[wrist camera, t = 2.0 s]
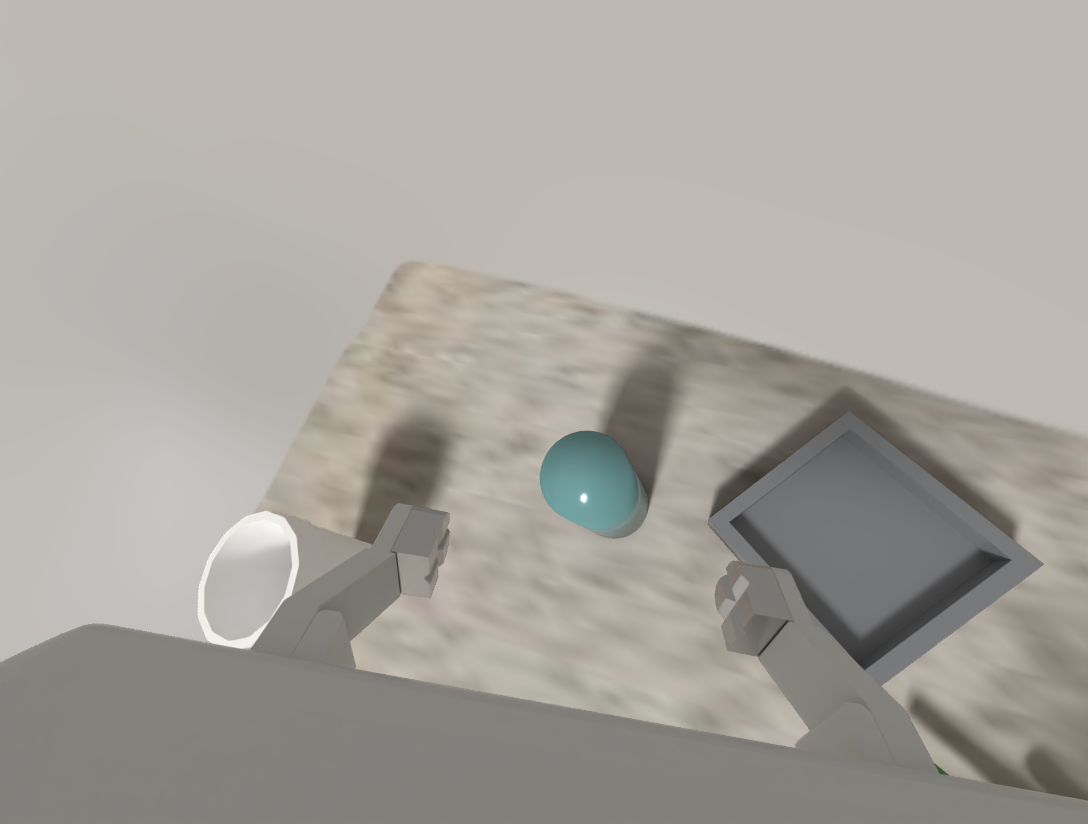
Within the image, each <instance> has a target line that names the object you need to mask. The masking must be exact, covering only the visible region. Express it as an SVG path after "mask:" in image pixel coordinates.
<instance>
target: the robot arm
mask: <svg viewBox="0 0 1088 824" xmlns="http://www.w3.org/2000/svg"><path fill="white" fill-rule="evenodd" d="M449 521H450V515H449V513H448V512H443V511H438V510H433V509H428V508H423V507H418V506H412V505H407V504H402V503H397V504H396V505H395V506H394V507H393V509H392V511H391V512H390V514H389V516H388V518H387V520H386V521H385V523H384V525H383V527H382V529H381V531H380V532H379V534H378V536H377V538H376V540H375V541H374V543H373V545H372V547H371V548H364V549H363V550H361V551H360V552H358V553H357V554H355V555H353V556H352V557H350V558H349V559H347V560H346V561H344V562H343V563H341V564H339V565H338V566H336V567H335V568H333V569H332V570H330V571H329V572H327V573H325V574H324V575H322V576H321V577H319V578H318V579H316V580H315V581H313V582H311V583H310V584H308V585H307V586H305V587H304V588H302V589H301V590H299V591H297V592H296V593H294V594H293V595H291V596H290V597H288V598H287V599H285V600H284V601H283V602H282V604H281V605H280V607H279V608H278V609H277V611H276V612H275V614H274V615H273V617H272V618H271V620H270V621H269V623H268V624H267V626H266V627H265V629H264V630H263V632H262V633H261V635H260V636H259V638H258V639H257V640H256V642H255V643H254V645H253V646H252V648H251V649H250V650H246V649H240V648H235V647H229V646H224V645H218V644H213V643H207V642H201V641H196V640H190V639H185V638H179V637H173V636H167V635H163V634H156V633H152V632H146V631H141V630H135V629H129V628H124V627H119V626H114V625H107V624H88V625H84V626H81V627H78V628H76V629H73V630H70V631H68V632H65V633H63V634H60V635H58V636H56V637H54V638H52V639H49V640H47V641H45V642H43V643H40V644H38V645H36V646H34V647H31V648H29V649H27V650H25V651H23V652H21V653H19V654H17V655H15V656H13V657H11V658H8V659H6V660H4V661H2V662H0V824H1088V800H1083V799H1077V798H1072V797H1066V796H1060V795H1055V794H1049V793H1044V792H1038V791H1032V790H1027V789H1021V788H1016V787H1010V786H1005V785H999V784H993V783H988V782H982V781H977V780H971V779H966V778H960V777H954V776H949V775H943V774H939V772H938V770H937V768H936V766H935V764H934V762H933V761H932V759H931V757H930V755H929V753H928V751H927V749H926V747H925V745H924V744H923V742H922V740H921V738H920V736H919V734H918V732H917V730H916V728H915V727H914V725H913V723H912V721H911V719H910V717H909V715H908V713H907V711H906V710H905V709H904V708H903V707H902V706H901V705H900V704H899V703H898V702H896V701H895V700H894V699H893V698H892V697H891V696H890V695H889V694H888V693H887V692H886V691H885V690H884V689H883V688H882V687H881V686H880V685H879V684H878V683H877V682H876V681H875V680H874V679H873V678H872V677H871V676H870V675H869V674H868V673H867V672H866V671H865V670H864V669H863V668H862V667H861V666H860V665H859V664H858V663H856V662H855V661H854V660H853V659H852V658H851V657H850V656H849V655H848V654H847V653H846V652H845V651H844V650H843V649H842V648H841V647H840V646H839V645H838V644H837V643H836V642H835V641H834V640H833V639H832V638H831V637H830V636H829V635H828V634H827V633H826V632H825V631H824V630H823V629H822V628H821V627H819V626H814V624H813V622H812V619H811V617H810V615H809V613H808V610H807V608H806V606H805V604H804V601H803V599H802V597H801V595H800V592H799V590H798V588H797V586H796V583H795V581H794V579H793V577H792V574H791V573H790V572H789V571H788V570H786V569H780V568H774V567H767V566H764V565H758V564H751V563H745V562H739V561H732V562H730V563H729V564H728V566H727V567H726V570H727V575H725V576H723V577H721V578H720V579H719V581H718V583H717V585H716V591H715V603H716V607H717V611H718V612H719V614H720V615H721V616H722V617H723V618H724V619H725V621H724V623H723V624H722V626H721V627H722V631H723V635H724V639H725V643H726V647H727V650H728V651H733V652H737V653H742V654H747V655H752V656H757V657H758V659H759V661H760V662H761V663H762V665H763V666H764V667H765V669H766V670H767V672H768V673H769V674H770V676H771V677H772V679H773V680H774V681H775V683H776V684H777V685H778V687H779V688H780V690H781V691H782V692H783V694H784V695H785V696H786V698H787V699H788V701H789V702H790V703H791V705H792V706H793V707H794V709H795V710H796V712H797V713H798V714H799V716H800V717H801V718H802V720H803V721H804V723H805V724H806V725H807V727H808V728H809V730H810V731H809V732H808V733H806V734H805V735H804V736H803V737H802V738H800V739H799V740H798V741H797V743H796V744H795V746H796V748H792V747H787V746H781V745H775V744H770V743H764V742H759V741H753V740H748V739H742V738H737V737H731V736H725V735H720V734H714V733H709V732H703V731H698V730H692V729H687V728H681V727H675V726H670V725H664V724H659V723H653V722H648V721H642V720H637V719H631V718H625V717H620V716H614V715H609V714H603V713H598V712H592V711H586V710H581V709H575V708H570V707H564V706H559V705H553V704H547V703H542V702H536V701H531V700H525V699H520V698H514V697H508V696H503V695H497V694H492V693H486V692H480V691H475V690H469V689H464V688H458V687H453V686H447V685H441V684H436V683H430V682H425V681H419V680H413V679H408V678H402V677H397V676H391V675H386V674H380V673H374V672H369V671H363V670H358V669H355V668H356V664H355V660H354V656H353V653H352V649H351V645H350V641H351V640H352V639H353V638H354V637H356V636H357V635H358V634H359V633H360V632H361V631H362V630H363V629H364V628H365V627H367V626H368V625H369V624H370V623H371V622H372V621H373V620H374V619H375V618H377V617H378V616H379V615H380V614H381V613H382V612H383V611H384V610H385V609H386V608H388V607H389V606H390V605H391V604H392V603H393V602H394V601H395V600H396V599H398V598H399V597H400V594H404V595H411V596H418V597H425V598H431V596H432V593H433V590H434V588H435V585H436V582H437V579H438V567H439V566H441V565H442V564H443V563H444V560H445V557H446V554H447V550H448V545H449V538H450V531H449V530H448V529H447V527H448V524H449Z"/></svg>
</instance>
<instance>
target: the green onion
mask: <svg viewBox="0 0 1088 824" xmlns="http://www.w3.org/2000/svg"><path fill="white" fill-rule="evenodd" d="M934 764H935V763H934ZM935 766H936V768H937V770H938V772H939V774H943V775H948V774H947V773H946V772H944V771H943V770H942V769H941V768H939V767H938V766H937V765H936V764H935Z"/></svg>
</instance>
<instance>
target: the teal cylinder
mask: <svg viewBox="0 0 1088 824" xmlns="http://www.w3.org/2000/svg"><path fill="white" fill-rule="evenodd" d="M540 484H541V489H542V493H543V495H544V498H545V499H546V501H547V503H548V504H549V505H550V507H551V508H552V509H553V510H554V511H555V512H556V513H558V514H559V515H561V516H563V517H564V518H566V519H568V520H570V521H572V522H574V523H576V524H578V525H580V526H582V527H584V528H586V529H588V530H590V531H592V532H594V533H596V534H598V535H600V536H603V537H606V538H613V539H614V538H623V537H626V536H628V535H630V534H632V533H633V532H635V531H636V530H637V529H638V528H639V527H640V526H641V525H642V523H643V522H644V520H645V518H646V515H647V511H648V497H647V494H646V491H645V489H644V487H643V485H642V483H641V481H640V480H639V478H638V476H637V474H636V472H635V471H634V469H633V467H632V465H631V463H630V462H629V460H628V458H627V456H626V455H625V453H624V451H623V449H622V448H621V447H620V446H619V444H618V443H617V442H616V441H614V440H613V439H612V438H610V437H608V436H607V435H604V434H602V433H599V432H595V431H579V432H575V433H572V434H569V435H567V436H565V437H563V438H562V439H560V440H559V441H557V442H556V443H555V444H554V445H553V446H552V447H551V449H550V450H549V451H548V453H547V454H546V456H545V458H544V461H543V463H542V467H541V472H540Z"/></svg>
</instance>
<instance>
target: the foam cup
mask: <svg viewBox="0 0 1088 824" xmlns="http://www.w3.org/2000/svg"><path fill="white" fill-rule="evenodd" d="M371 547H372V544H369V543H366V542H363V541H360V540H357V539H354V538H351V537H348V536H345V535H342V534H339V533H336V532H333V531H330V530H327V529H324V528H321V527H318V526H315V525H312V524H311V523H310V521H307V520H304V519H301V518H298V517H296V516H293V515H288V514H282V513H276V512H270V511H264V512H260V513H256V514H253V515H249V516H245V517H244V518H243V519H242V520H240V521H239V522H238V523H237V524H235V525H234V526H233V527H232V528H231V529H229V530H228V531H227V532H226V533H225V534H224V535H223V537H222V538H221V540H220V541H219V543H218V544H217V546H216V547H215V549H214V550H213V552H212V554H211V555H210V556H209V558H208V561H207V564H206V567H205V570H204V573H203V576H202V579H201V582H200V585H199V588H198V619H199V621H200V624H201V626H202V628H203V631H204V633H205V636H206V638H207V640H208V641H210V642H212V643H213V644H218V645H224V646H229V647H235V648H240V649H242V648H249V647H252V646H253V645H254V643H255V642H256V640H257V639H258V638H259V636H260V635H261V633H262V632H263V630H264V629H265V627H266V626H267V624H268V623H269V621H270V620H271V618H272V617H273V615H274V614H275V612H276V611H277V609H278V608H279V607H280V605H281V604H282V602H283V601H284V600H285V599H287V598H288V597H290V596H291V595H293V594H294V593H296V592H297V591H299V590H301V589H302V588H304V587H305V586H307V585H308V584H310V583H311V582H313V581H315V580H316V579H318V578H319V577H321V576H322V575H324V574H325V573H327V572H329V571H330V570H332V569H333V568H335V567H336V566H338V565H339V564H341V563H343V562H344V561H346V560H347V559H349V558H350V557H352V556H353V555H355V554H357V553H358V552H360V551H361V550H363V549H364V548H371Z"/></svg>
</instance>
